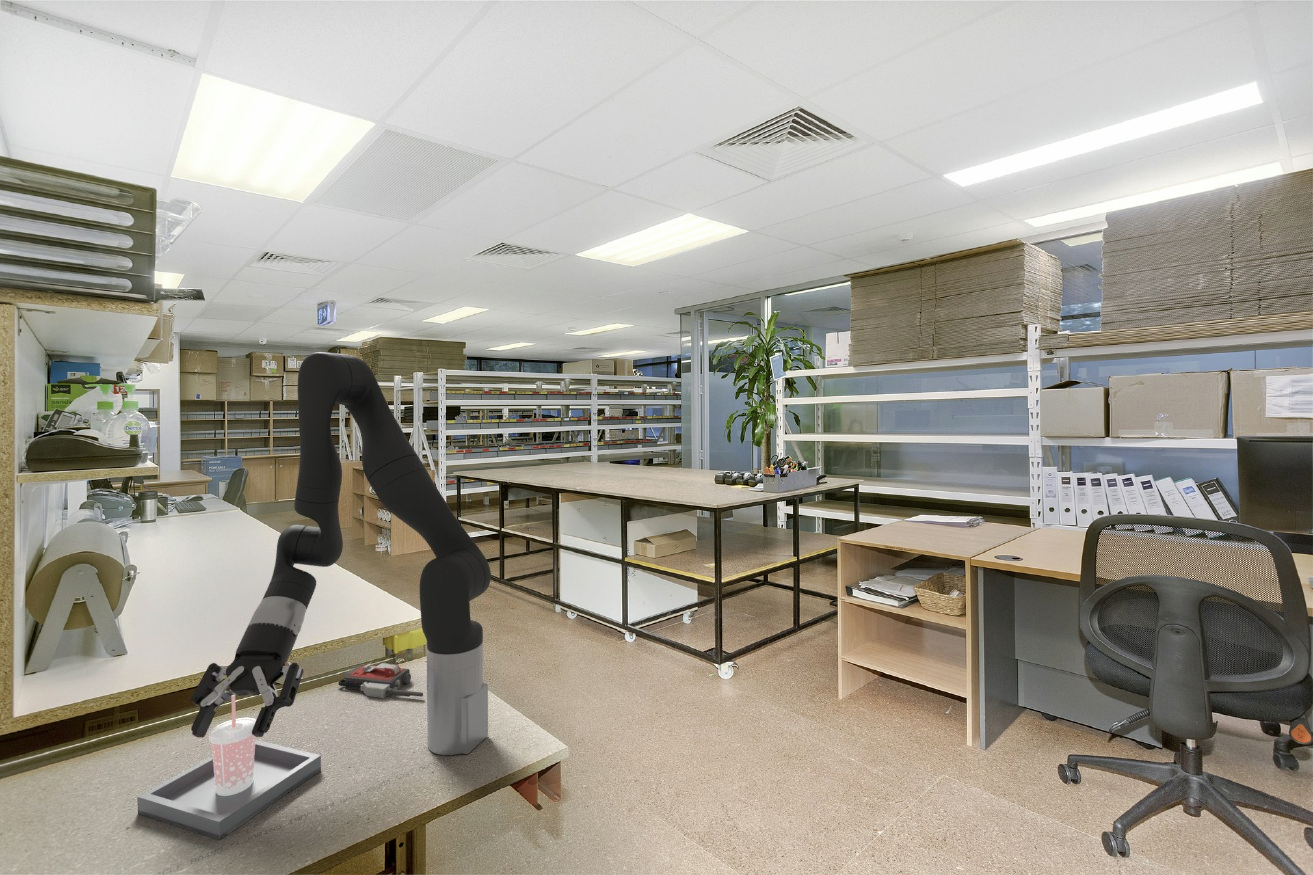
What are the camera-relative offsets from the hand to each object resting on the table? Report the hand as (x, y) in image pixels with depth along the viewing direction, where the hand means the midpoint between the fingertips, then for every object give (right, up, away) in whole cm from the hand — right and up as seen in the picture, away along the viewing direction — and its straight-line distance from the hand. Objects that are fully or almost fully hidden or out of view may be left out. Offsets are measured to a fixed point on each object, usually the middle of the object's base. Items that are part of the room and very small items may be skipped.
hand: (227, 735), depth 87 cm
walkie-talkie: (+8, -8, +35) cm, 37 cm away
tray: (0, -9, +2) cm, 9 cm away
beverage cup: (0, -9, +2) cm, 9 cm away
